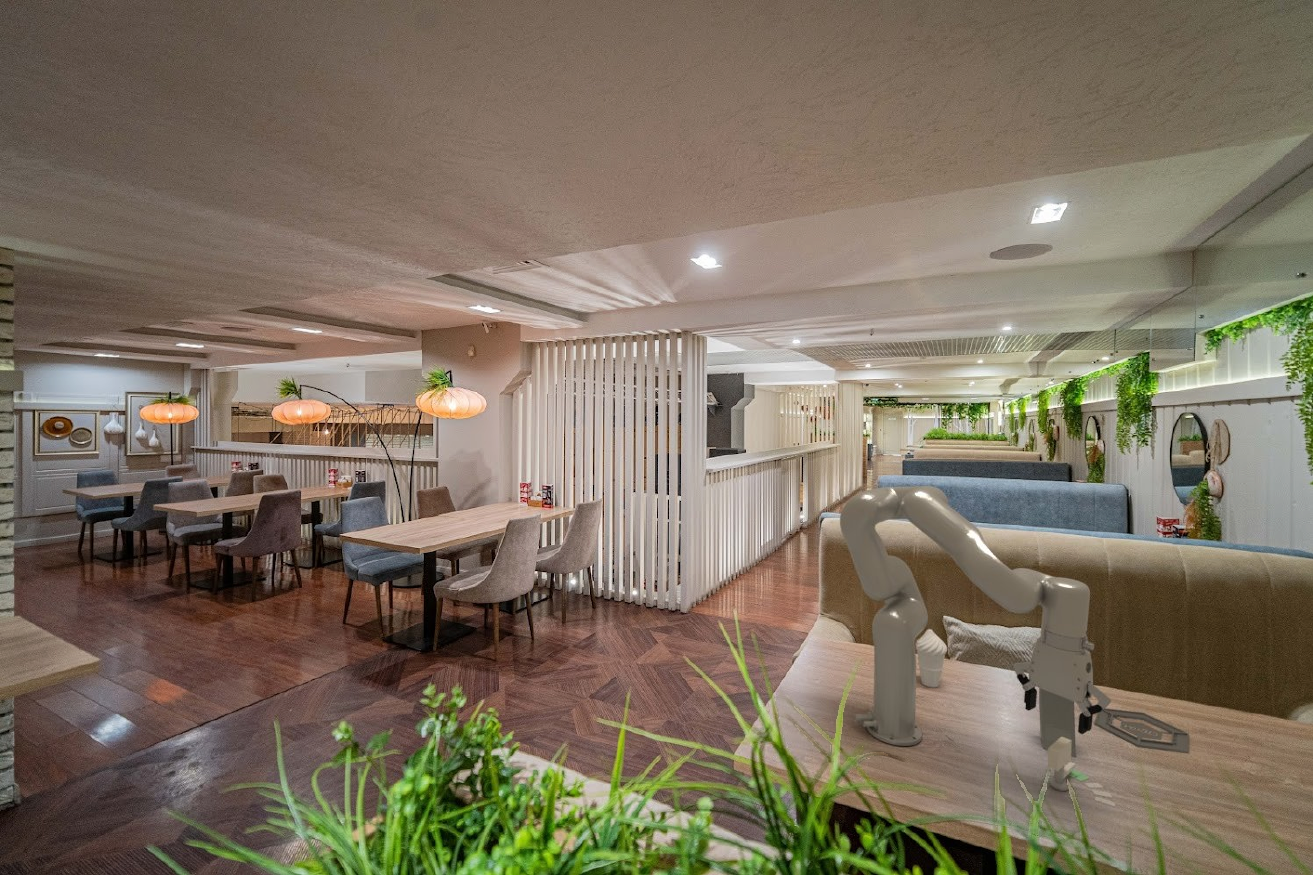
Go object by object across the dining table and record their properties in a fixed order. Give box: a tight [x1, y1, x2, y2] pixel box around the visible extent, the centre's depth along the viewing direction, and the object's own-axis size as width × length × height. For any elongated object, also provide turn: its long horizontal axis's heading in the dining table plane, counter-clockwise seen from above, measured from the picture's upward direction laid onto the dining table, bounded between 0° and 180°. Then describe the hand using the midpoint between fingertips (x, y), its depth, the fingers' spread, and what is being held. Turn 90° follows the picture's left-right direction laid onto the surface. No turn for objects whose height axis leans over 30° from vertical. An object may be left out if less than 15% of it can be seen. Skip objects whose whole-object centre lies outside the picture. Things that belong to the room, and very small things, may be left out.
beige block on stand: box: [1047, 737, 1076, 792], centre depth 117 cm, size 11×3×9 cm, turn 126°
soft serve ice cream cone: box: [914, 628, 948, 689], centre depth 163 cm, size 8×8×16 cm
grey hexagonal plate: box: [1093, 707, 1190, 754], centre depth 140 cm, size 17×20×1 cm
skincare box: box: [1038, 687, 1077, 758], centre depth 131 cm, size 8×7×16 cm
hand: (1056, 719), depth 116 cm, fingers open, 9 cm apart
